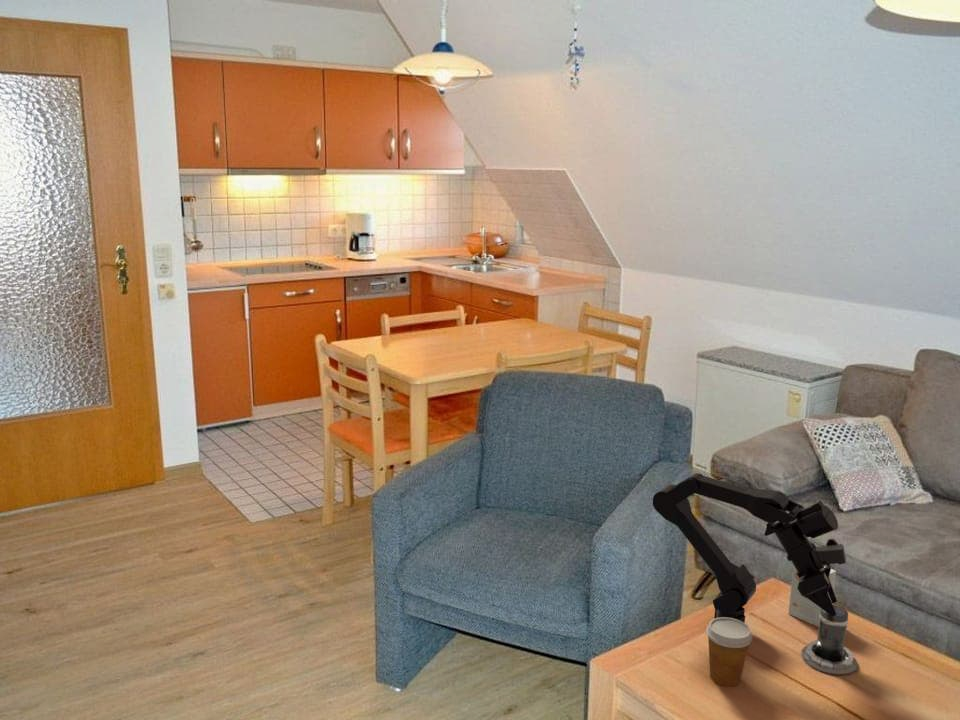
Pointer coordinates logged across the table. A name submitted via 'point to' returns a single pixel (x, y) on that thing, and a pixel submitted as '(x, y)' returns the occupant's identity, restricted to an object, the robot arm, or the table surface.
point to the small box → (805, 601)
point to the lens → (832, 635)
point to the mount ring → (827, 666)
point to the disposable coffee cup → (727, 649)
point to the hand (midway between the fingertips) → (834, 608)
